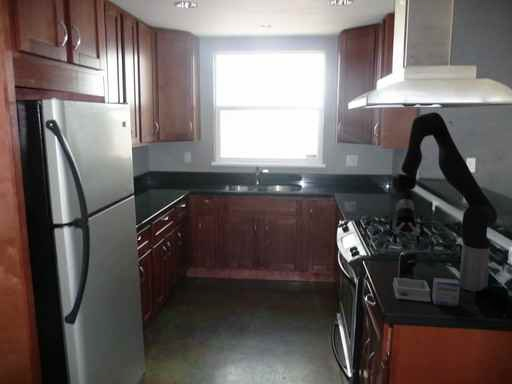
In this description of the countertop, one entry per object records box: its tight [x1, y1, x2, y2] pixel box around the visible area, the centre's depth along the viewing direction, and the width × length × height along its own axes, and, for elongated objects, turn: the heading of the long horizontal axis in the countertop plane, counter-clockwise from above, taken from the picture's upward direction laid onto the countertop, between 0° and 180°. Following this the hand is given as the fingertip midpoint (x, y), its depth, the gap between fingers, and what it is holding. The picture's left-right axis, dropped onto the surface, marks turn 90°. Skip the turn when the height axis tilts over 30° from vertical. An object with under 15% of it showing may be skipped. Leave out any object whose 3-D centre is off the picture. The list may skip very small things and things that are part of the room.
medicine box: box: [431, 277, 461, 307], centre depth 147 cm, size 8×4×9 cm, turn 80°
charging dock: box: [392, 277, 432, 302], centre depth 156 cm, size 12×13×4 cm
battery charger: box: [396, 251, 418, 280], centre depth 167 cm, size 7×4×11 cm, turn 111°
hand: (406, 244), depth 173 cm, fingers open, 8 cm apart
